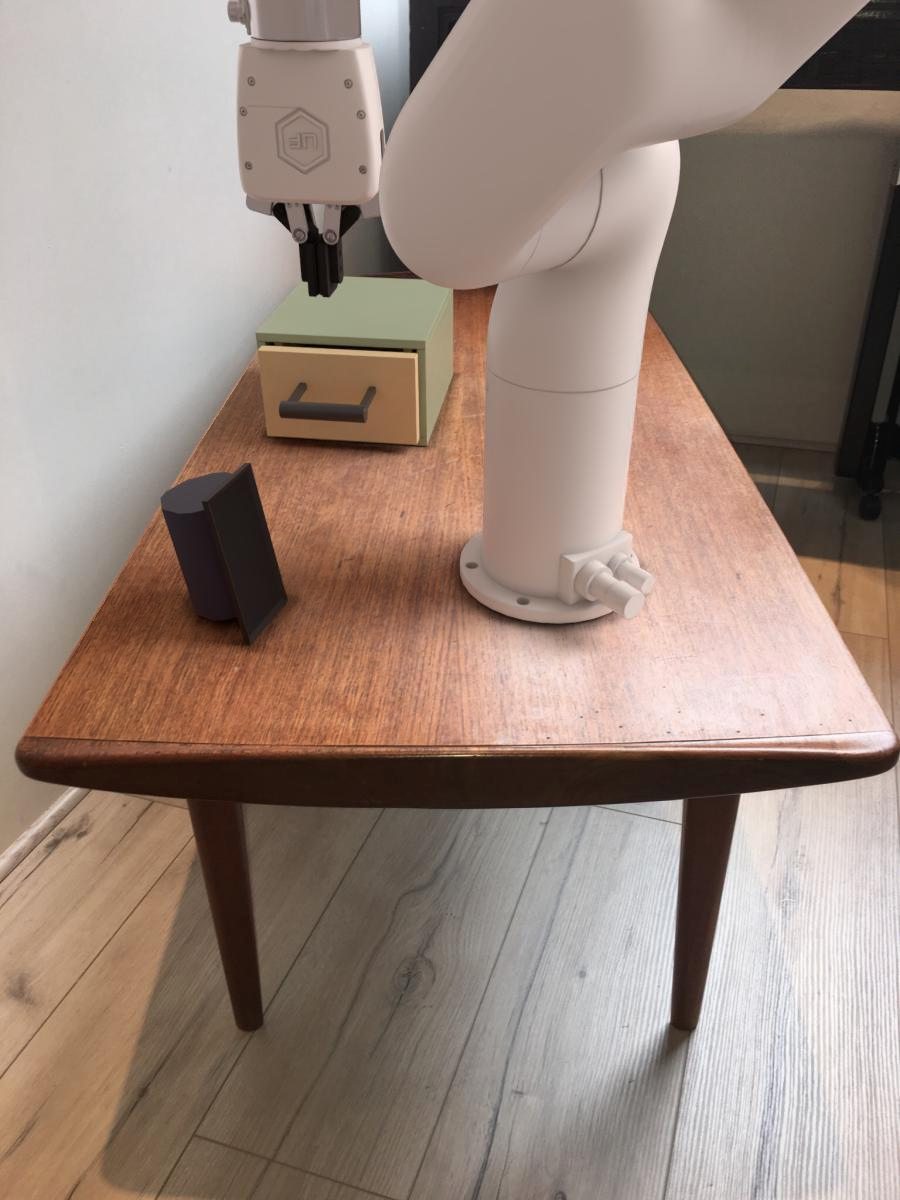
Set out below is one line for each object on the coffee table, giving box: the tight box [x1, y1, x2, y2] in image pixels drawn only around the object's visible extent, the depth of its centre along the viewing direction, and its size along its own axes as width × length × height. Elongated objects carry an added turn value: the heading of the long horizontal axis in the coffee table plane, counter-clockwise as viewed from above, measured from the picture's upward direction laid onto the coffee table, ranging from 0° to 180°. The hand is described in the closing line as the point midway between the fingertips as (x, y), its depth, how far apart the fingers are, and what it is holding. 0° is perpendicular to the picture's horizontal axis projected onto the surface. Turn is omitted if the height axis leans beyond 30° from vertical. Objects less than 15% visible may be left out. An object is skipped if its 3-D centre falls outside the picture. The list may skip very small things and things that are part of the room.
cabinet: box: [255, 275, 454, 447], centre depth 92 cm, size 17×15×10 cm
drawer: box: [257, 342, 419, 446], centre depth 88 cm, size 21×13×8 cm, turn 172°
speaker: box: [159, 462, 289, 646], centre depth 65 cm, size 8×6×10 cm
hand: (323, 291), depth 77 cm, fingers closed
